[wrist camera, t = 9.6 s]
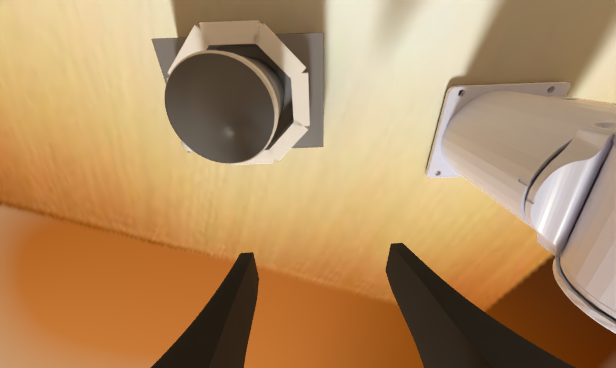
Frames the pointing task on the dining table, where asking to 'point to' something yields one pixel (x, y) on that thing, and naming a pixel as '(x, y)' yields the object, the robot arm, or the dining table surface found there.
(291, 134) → the octagonal ring base
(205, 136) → the lens
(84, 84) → the dining table surface
